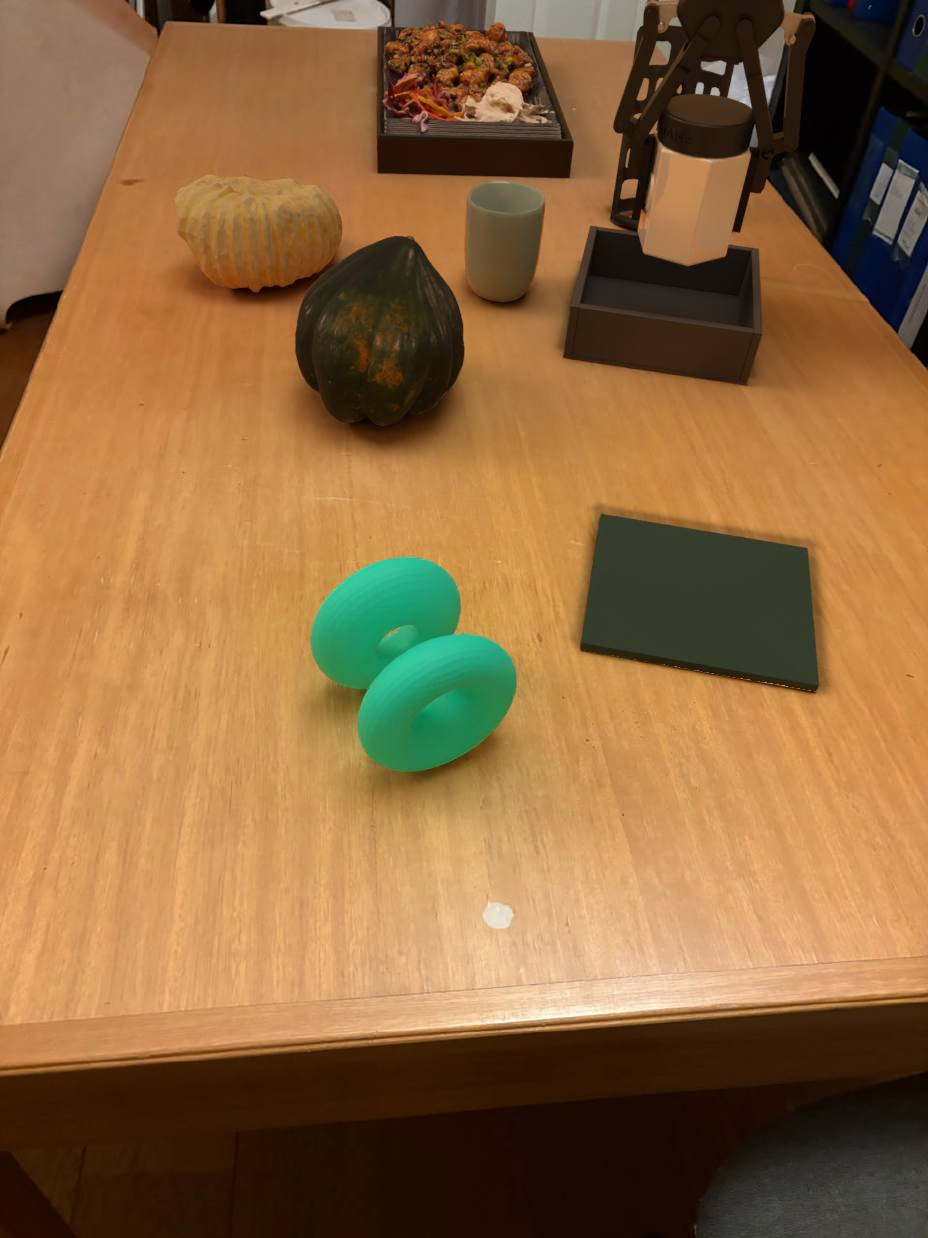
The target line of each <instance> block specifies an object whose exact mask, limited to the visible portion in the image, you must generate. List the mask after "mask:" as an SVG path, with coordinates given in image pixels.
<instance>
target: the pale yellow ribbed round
mask: <svg viewBox="0 0 928 1238" xmlns="http://www.w3.org/2000/svg"><path fill="white" fill-rule="evenodd" d="M174 204H175V205H174V206H175V211H176V224H175V227H176V233H177V235H178V236H179V237H180V238H181V240H183V241H184V242H185V243H186V244H187V246H188V248H189V250H190V252H191V255H192V256H193V258H194V260H195V263H196V264H197V266H198V267H199V269H200V270H201V271H202V273H203V274H204V275H205V276H206V277H207V278H208V279H209V280H210V281H211V283H213V284H214V285H216V286H218V287H223V288H227V289H234V290H236V289H240V288H243V289H244V288H246V289H247V288H248V289H250V290H251V291H252V292H253V293H259V292H260V290H262V288H264V287H270V288H272V287H274V286H279V287H281V288H284V287H286V286H289V285H293V284H294V283H295V281H296V280H300V279H304V278H311V277H312V275H314V274H318V273H320V272H321V271H322V270H324V268H326V266H327V265H328V264H329V263H330V262H331V261H332V260H333V259H334V257H335V255H336V253H337V251H338V249H339V248H340V244H341V242H342V236H343V221H342V217H341V214H340V210H339V208H338V206H337V204H336V202H335V201H334V199H333V198H332V197H331V195H330V194H328V192H327V191H326V190H325V188H323V187H321V186H320V185H319V184H302V183H299V182H298V181H297V180H296V178H289V177H288V178H286V177H285V178H280V179H269V180H262V179H259V178H254V177H252V176H251V177H250V176H248V175H242V176H219V175H216V174H214V173H211V174H210V173H209V174H205V175H204V176H201V177H199V178H198V179H196V180H194V181H191V182H190V183H189V184H187V185H185V186H180V188H179V189H178V190H177V191H176V197H175V198H174Z"/></svg>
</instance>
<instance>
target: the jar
mask: <svg viewBox="0 0 928 1238" xmlns="http://www.w3.org/2000/svg"><path fill="white" fill-rule="evenodd" d="M657 122H658V130H657V131H656V130H655V131H656V132H655V131H654V133H655V134H654V133H653V134H654V141H653V147H652V153H651V158H650V164H649V170H648V175H647V181H646V187H645V192H644V198H643V204H642V210H641V215H640V221H639V226H638V229H637V232H638V235H639V239H640V243H641V246H642V250H643V253H644V254H646V255H649V256H653V257H656V258H660V259H663V260H667V261H670V262H674V263H677V264H681V265H684V266H692V265H695V264H699V263H703V262H707V261H711V260H715V259H719V258H723V257H725V256H726V254H727V250H728V246H729V245H730V241H731V238H732V233H733V232H732V229H733V225H734V221H735V217H736V213H737V209H738V205H739V201H740V197H741V193H742V189H743V185H744V181H745V177H746V173H747V169H748V165H749V161H750V157H751V153H750V151H749V148H750V147H751V146H750V145H751V141H752V138H753V133H754V129H755V122H754V117H753V112H752V107H750V106H749V105H748V104H746V103H744V102H742V101H740V100H737V99H733V98H730V97H728V98H726V97H722V96H719V95H715V94H710V95H707V94H703V93H695V94H686V95H679V96H675V97H672V99H671V101H670V102H669V104H668V105H667V107H666V108H665V110H664V111H663V113H662V114H661V116H660V117H659V121H657Z"/></svg>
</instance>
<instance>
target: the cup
mask: <svg viewBox="0 0 928 1238" xmlns="http://www.w3.org/2000/svg"><path fill="white" fill-rule="evenodd" d="M543 193H544V192H542V191H540V189H538V188H536V187H534V186H531V185H529V184H526V183H522V182H518V181H517V182H516V181H510V180H490V181H483V182H480V183H477V184H475V185H474V186H473V187H471V188H470V190H469V191H468V193H467V195H466V203H465V217H464V238H463V239H464V240H463V241H464V243H463V245H464V247H463V248H464V249H463V251H464V252H463V253H464V254H463V255H464V270H465V276H466V279H467V282H468V285H469V287H470V289H471V290H472V291H473V292H474V294H476V295H477V296H479V297H480V298H482V299H484V300H487V301H490V302H497V303H508V302H513V301H517V300H518V299H520V298H522V297H523V296H524V295H525V294H526V293H527V292H528V291H529V290H530V288H531V286H532V284H533V282H534V279H535V276H536V273H537V270H538V264H539V260H540V254H541V250H542V249H541V248H542V241H543V234H544V233H543V232H544V224H545V214H546V198H545V195H544V194H543Z"/></svg>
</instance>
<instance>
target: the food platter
mask: <svg viewBox="0 0 928 1238" xmlns="http://www.w3.org/2000/svg"><path fill="white" fill-rule="evenodd" d="M376 30H377V31H376V35H377V37H376V41H377V43H376V46H377V47H376V49H377V50H376V57H377V58H376V155H377V156H376V158H377V159H376V163H377V173H378V174H405V175H406V174H408V175H410V174H411V175H413V174H414V175H444V176H445V175H447V176H448V175H449V176H452V175H453V176H487V177H489V176H491V177H494V176H495V177H524V178H525V177H530V178H536V177H537V178H564V179H565V178H571V177H570V176H571V169H572V168H571V167H572V161H573V154H574V147H575V146H574V145H575V143H574V139H573V137H572V134H571V131H570V129H569V126H568V123H567V120H566V118H565V115H564V111H563V110H562V106H561V105H560V102H559V99H558V96H557V93H556V91H555V88H554V86H553V82H552V80H551V78H550V75H549V72H548V69H547V65H546V63H545V61H544V58H543V55H542V53H541V50H540V48H539V45H538V42H537V39H536V37H535V34H534V32H532V31H525V30H507V29H506V26H505V24H503V23H502V22H499V21H497V22H495V23H493V24H491V25H489V27H488V28H487V29H466V28H465V25H464V24H462V23H457V24H447V23H446V22H445V21H444V20H442V19H439V20H438V22H437V23H436V25H435V26H434V25H433V23H432V22H429V23H428V24H427V25H426V26H424V27H416V26H415V27H413V26H412V27H411V26H409V27H408V26H407V27H406V26H384V25H383V26H382V25H381V26H377V29H376Z"/></svg>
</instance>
